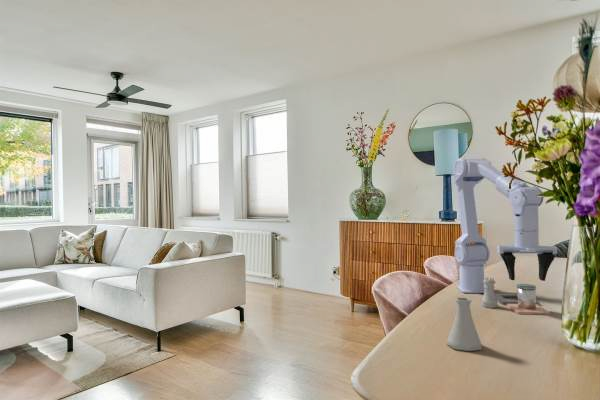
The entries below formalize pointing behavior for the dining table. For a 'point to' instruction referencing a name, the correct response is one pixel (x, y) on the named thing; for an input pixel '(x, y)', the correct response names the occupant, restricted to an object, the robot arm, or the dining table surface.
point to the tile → (537, 311)
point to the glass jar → (526, 296)
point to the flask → (464, 328)
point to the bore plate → (503, 301)
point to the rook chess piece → (489, 294)
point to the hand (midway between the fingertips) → (526, 279)
